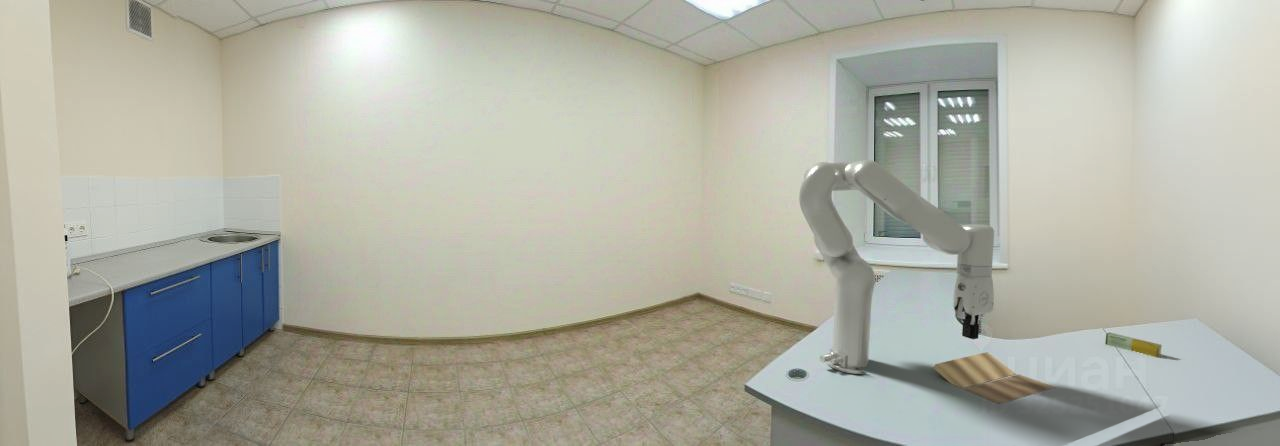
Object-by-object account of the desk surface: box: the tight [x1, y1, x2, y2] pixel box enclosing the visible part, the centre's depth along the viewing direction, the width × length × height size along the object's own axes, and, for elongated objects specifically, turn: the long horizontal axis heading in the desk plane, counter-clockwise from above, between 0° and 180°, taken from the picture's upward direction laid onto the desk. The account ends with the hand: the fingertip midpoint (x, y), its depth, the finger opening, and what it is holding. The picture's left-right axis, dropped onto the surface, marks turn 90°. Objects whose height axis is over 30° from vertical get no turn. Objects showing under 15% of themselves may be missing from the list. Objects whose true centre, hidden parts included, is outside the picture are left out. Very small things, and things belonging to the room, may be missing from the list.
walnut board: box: [963, 373, 1055, 405], centre depth 113 cm, size 23×8×2 cm, turn 113°
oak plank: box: [932, 351, 1016, 389], centre depth 120 cm, size 22×8×1 cm, turn 113°
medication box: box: [1105, 332, 1163, 358], centre depth 142 cm, size 12×3×4 cm, turn 24°
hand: (970, 337), depth 121 cm, fingers closed
